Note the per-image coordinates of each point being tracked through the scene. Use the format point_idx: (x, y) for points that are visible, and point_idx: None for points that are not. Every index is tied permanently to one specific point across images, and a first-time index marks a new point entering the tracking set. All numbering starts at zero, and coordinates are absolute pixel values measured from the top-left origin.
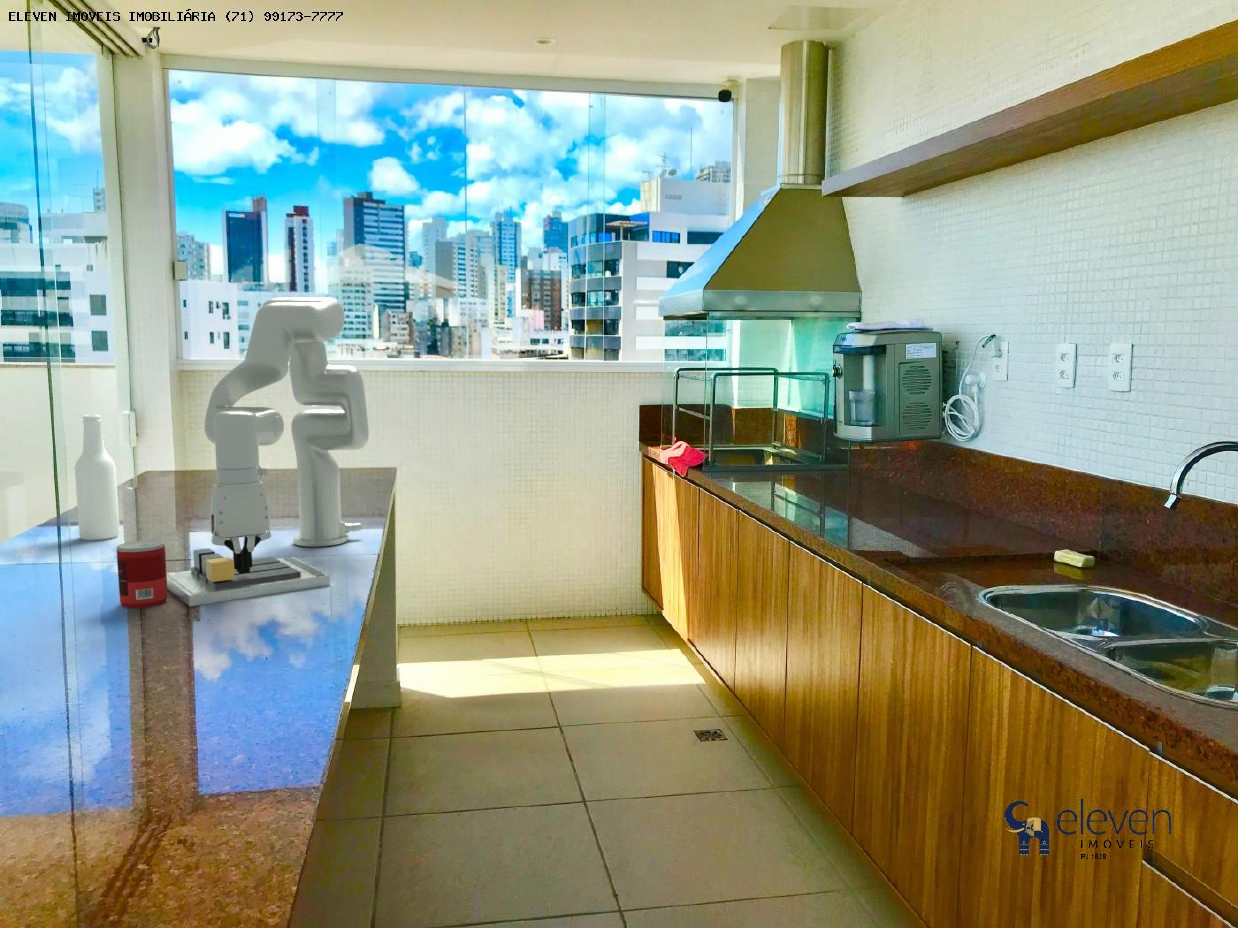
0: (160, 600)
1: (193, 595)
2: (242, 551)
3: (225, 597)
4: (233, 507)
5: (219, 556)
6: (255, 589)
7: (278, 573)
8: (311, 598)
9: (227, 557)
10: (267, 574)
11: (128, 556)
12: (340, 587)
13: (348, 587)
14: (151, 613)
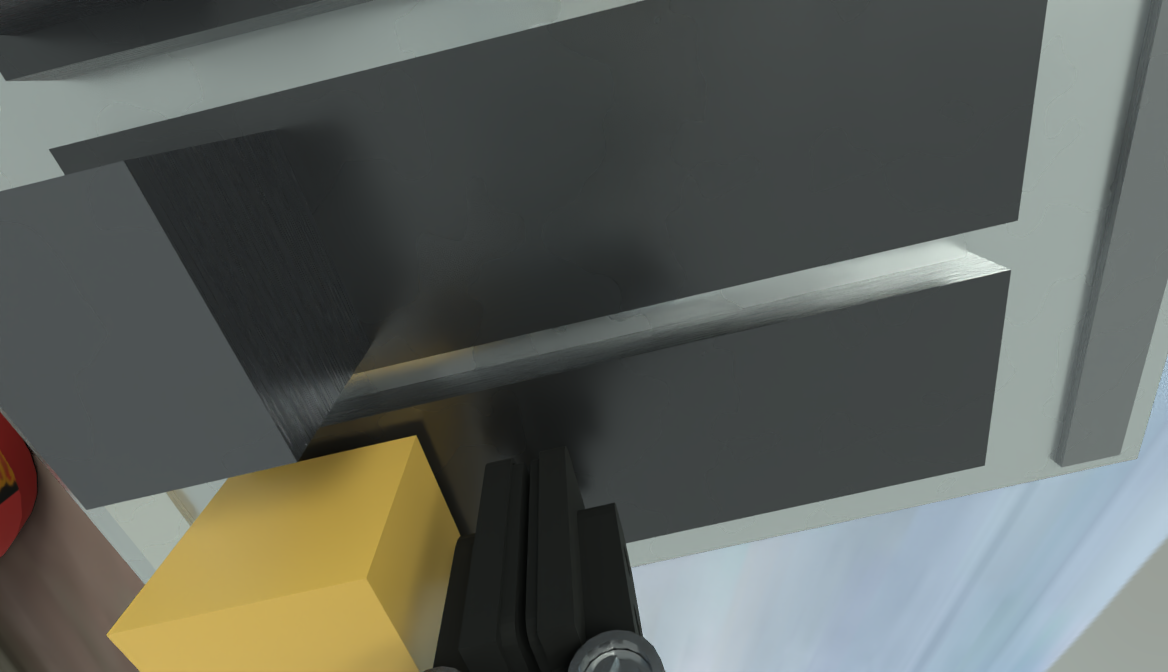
0: (10, 544)
1: None
2: (549, 663)
3: None
4: None
5: (230, 416)
6: None
7: (821, 460)
8: (855, 626)
9: (367, 598)
10: (735, 463)
11: None
12: (1084, 482)
13: (1116, 496)
14: (63, 653)
